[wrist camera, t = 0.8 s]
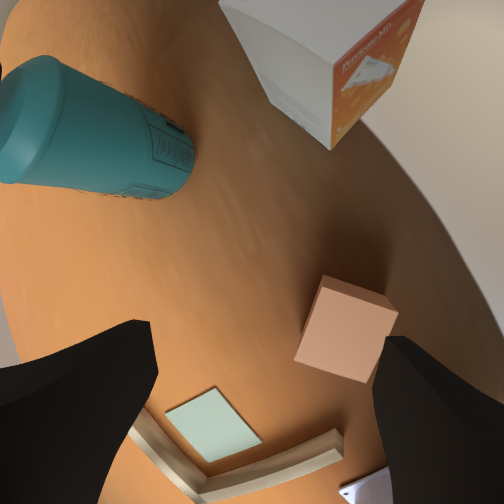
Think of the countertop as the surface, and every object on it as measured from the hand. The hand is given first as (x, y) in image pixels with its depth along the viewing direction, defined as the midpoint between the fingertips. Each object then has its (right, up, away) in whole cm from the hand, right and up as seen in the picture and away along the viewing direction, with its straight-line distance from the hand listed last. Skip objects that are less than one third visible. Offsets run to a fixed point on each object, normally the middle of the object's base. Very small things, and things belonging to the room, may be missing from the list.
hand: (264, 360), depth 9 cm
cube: (+6, -2, +14) cm, 15 cm away
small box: (+6, +16, +13) cm, 21 cm away
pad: (-4, -13, +17) cm, 22 cm away
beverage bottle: (-7, +11, +16) cm, 21 cm away
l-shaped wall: (-3, -12, +17) cm, 21 cm away
